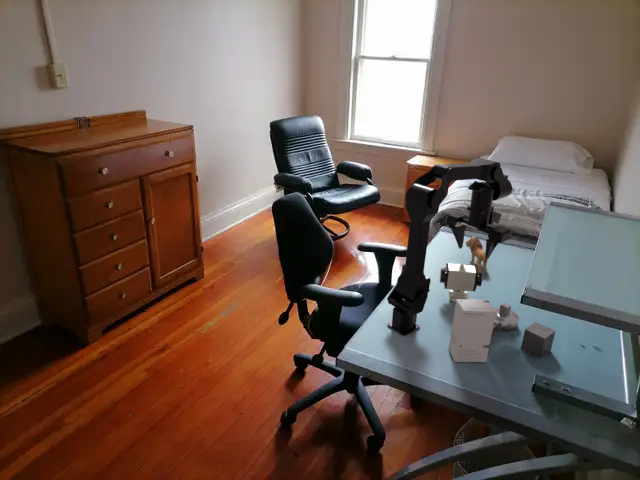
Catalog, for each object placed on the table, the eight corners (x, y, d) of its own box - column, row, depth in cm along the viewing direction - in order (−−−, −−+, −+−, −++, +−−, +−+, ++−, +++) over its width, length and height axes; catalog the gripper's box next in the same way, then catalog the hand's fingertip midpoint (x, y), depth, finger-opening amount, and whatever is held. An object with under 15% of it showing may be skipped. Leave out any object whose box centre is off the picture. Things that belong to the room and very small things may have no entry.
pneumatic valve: (478, 305, 139) (483, 270, 135) (437, 301, 141) (442, 266, 137) (476, 296, 144) (481, 261, 139) (437, 292, 146) (441, 258, 142)
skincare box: (454, 363, 115) (461, 311, 109) (447, 347, 121) (454, 298, 115) (488, 362, 115) (497, 311, 109) (480, 347, 121) (488, 297, 115)
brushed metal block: (540, 359, 117) (544, 338, 114) (520, 348, 120) (525, 328, 118) (550, 351, 120) (555, 331, 117) (531, 341, 123) (535, 321, 121)
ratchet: (482, 350, 120) (486, 331, 117) (458, 336, 125) (460, 317, 123) (522, 324, 130) (526, 306, 128) (498, 313, 136) (501, 295, 133)
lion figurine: (461, 258, 169) (464, 235, 166) (475, 256, 170) (478, 234, 167) (480, 277, 156) (484, 252, 152) (495, 275, 157) (499, 251, 153)
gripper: (527, 206, 131) (517, 256, 137) (470, 190, 144) (463, 236, 150) (504, 215, 124) (495, 267, 130) (447, 197, 138) (441, 245, 144)
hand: (473, 253), depth 139 cm, fingers open, 9 cm apart
